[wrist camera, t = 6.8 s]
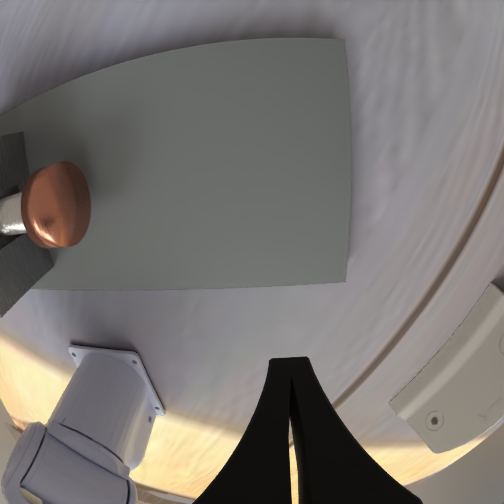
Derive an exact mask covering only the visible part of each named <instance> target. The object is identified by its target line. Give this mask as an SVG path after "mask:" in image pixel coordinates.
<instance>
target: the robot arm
mask: <svg viewBox="0 0 504 504" xmlns="http://www.w3.org/2000/svg"><path fill="white" fill-rule="evenodd" d="M68 351H69V352H70V354H71V356H72V358H73V360H74V361H75V363H76V365H77V367H78V368H77V370H76V372H75V373H74V375H73V377H72V378H71V380H70V382H69V384H68V385H67V387H66V389H65V391H64V393H63V394H62V396H61V398H60V400H59V402H58V403H57V405H56V407H55V409H54V411H53V413H52V415H51V417H50V418H49V420H48V422H47V424H45V425H43V424H42V423H41V422H39V421H38V422H34V423H30V424H29V425H28V426H27V427H26V429H25V430H24V432H23V433H22V435H21V436H20V438H19V440H18V442H17V443H16V445H15V447H14V449H13V451H12V453H11V456H10V458H9V461H8V463H7V467H6V470H5V472H4V474H3V477H2V481H1V486H2V493H3V495H4V497H5V499H6V501H7V502H8V504H137V503H138V495H137V491H136V486H135V484H134V481H133V480H132V479H131V478H130V477H128V476H129V473H130V471H131V470H133V469H135V468H136V467H137V466H138V465H139V464H140V463H141V461H142V460H143V458H144V455H145V451H146V448H147V444H148V441H149V438H150V434H151V431H152V427H153V424H154V421H155V417H156V415H159V416H163V415H165V410H164V408H163V406H162V404H161V402H160V400H159V398H158V396H157V394H156V392H155V390H154V388H153V386H152V384H151V382H150V380H149V377H148V375H147V373H146V371H145V369H144V366H143V364H142V362H141V360H140V357H139V355H138V354H137V353H136V352H133V351H121V350H111V349H101V348H93V347H85V346H77V345H69V346H68ZM289 420H290V421H291V427H292V434H293V441H294V448H295V454H296V461H297V470H298V495H299V504H423V503H422V501H421V499H420V498H418V497H417V496H416V495H414V494H412V493H411V492H410V491H409V490H407V489H406V488H405V487H403V486H402V485H401V484H399V483H398V482H397V481H396V480H395V479H394V478H392V477H391V476H390V475H389V474H388V473H387V472H386V471H385V470H384V469H383V468H382V467H381V466H380V465H379V464H378V463H377V462H376V461H375V460H374V459H373V458H372V457H371V456H370V455H369V454H368V453H367V452H366V451H365V450H364V449H363V448H362V446H361V445H360V444H359V443H358V442H357V440H356V439H355V438H354V437H353V436H352V434H351V433H350V432H349V430H348V429H347V428H346V426H345V425H344V423H343V422H342V420H341V419H340V417H339V416H338V414H337V413H336V411H335V410H334V408H333V407H332V405H331V403H330V402H329V400H328V398H327V396H326V395H325V393H324V391H323V389H322V387H321V385H320V383H319V381H318V379H317V377H316V375H315V373H314V370H313V368H312V365H311V363H310V360H309V358H308V357H290V358H272V359H271V360H269V367H268V373H267V377H266V381H265V384H264V388H263V391H262V394H261V396H260V399H259V402H258V405H257V407H256V410H255V412H254V414H253V416H252V418H251V421H250V423H249V425H248V427H247V429H246V431H245V433H244V435H243V437H242V438H241V440H240V442H239V444H238V445H237V447H236V449H235V450H234V452H233V453H232V455H231V456H230V458H229V459H228V461H227V462H226V464H225V465H224V467H223V468H222V470H221V471H220V472H219V474H218V475H217V476H216V477H215V479H214V480H213V481H212V482H211V483H210V485H209V486H208V487H207V488H206V489H205V491H204V492H203V493H202V494H201V495H200V496H199V497H198V498H197V499H196V500H195V501H194V502H193V503H192V504H292V497H291V478H290V458H289V439H288V436H289ZM503 504H504V503H503Z"/></svg>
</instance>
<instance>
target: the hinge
mask: <svg viewBox="0 0 504 504" xmlns="http://www.w3.org/2000/svg"><path fill="white" fill-rule="evenodd" d="M389 404H390V406H391V407H392V409H393V411H394V412H395V414H396V415H397V416H399V417H401V418H403V419H405V420H406V421H407V422H408V423H409V424H410V426H411V427H412V428H413V429H414V430H415V432H416V433H417V434H418V435H419V436H420V438H421V439H422V440H423V441H424V443H425V444H426V445H427V446H428V447H429V449H430V450H431V451H432V452H434V453H442V452H445V451H449V450H452V449H454V448H457V447H459V446H462V445H464V444H466V443H468V442H470V441H472V440H474V439H476V438H477V437H479V436H481V435H482V434H483V433H485V432H486V431H488V430H489V429H491V428H492V427H493V426H494V425H495V424H497V423H498V422H499V421H500V420H501V419H502V418H503V417H504V292H502V291H501V290H500V289H499V288H498V287H496V286H495V285H494V284H493V283H490V284H489V285H488V287H487V288H486V290H485V291H484V293H483V294H482V296H481V297H480V299H479V300H478V301H477V303H476V304H475V306H474V307H473V308H472V310H471V311H470V313H469V314H468V315H467V317H466V318H465V319H464V321H463V322H462V323H461V325H460V326H459V327H458V328H457V330H456V331H455V332H454V333H453V335H452V336H451V337H450V338H449V340H448V341H447V342H446V343H445V344H444V346H443V347H442V348H441V349H440V350H439V351H438V353H437V354H436V355H435V356H434V357H433V358H432V359H431V361H430V362H429V363H428V364H427V365H426V366H425V367H424V368H423V369H422V370H421V371H420V372H419V373H418V375H417V376H416V377H415V378H414V379H413V380H412V381H411V382H410V383H409V384H408V385H407V386H406V387H405V388H404V389H403V390H402V391H401V392H400V393H399V394H397V395H396V396H395V397H394V398H393V399H392V400H391V401H390V402H389Z"/></svg>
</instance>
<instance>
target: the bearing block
mask: <svg viewBox="0 0 504 504" xmlns="http://www.w3.org/2000/svg"><path fill="white" fill-rule="evenodd" d="M29 176H30V173H29V167H28V161H27V155H26V148H25V140H24V132H23V131H22V132H17V133H12V134H8V135H3V136H0V198H3V197H6V196H9V195H12V194H16V193H19V192H22V191H23V187H24V185H25V182H26V181H27V179H28V177H29ZM53 267H54V264H53V261H52V258H51V255H50V252H49V249H48V248H42V247H40V246H38V245H37V244H35V243H34V242H33V241H32V239H31V238H30V237H29V235H28V234H27V233H22V234H16V235H9V236H3V237H0V317H1V318H2V317H3V316H4V315H5V313H6V312H7V311H8V310H9V309H10V308H11V307H12V306H13V305H14V304H15V303H16V302H17V301H18V300H19V299H20V298H21V297H22V296H23V295H24V294H25V293H26V292H27V291H28V290H29V289H30V288H31V287H32V286H33V285H35V284H36V283H37V282H38V281H39V280H40V279H41V278H42V277H43V276H44V275H45V274H46V273H47V272H49V271H50V270H51V269H52V268H53Z"/></svg>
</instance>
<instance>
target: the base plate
mask: <svg viewBox="0 0 504 504" xmlns="http://www.w3.org/2000/svg"><path fill="white" fill-rule="evenodd" d="M22 131H23V132H24V140H25V148H26V155H27V161H28V167H29V173H30V175H31V174H32V173H33V172H34V171H35V170H36V169H39V168H41V167H44V166H48V165H51V164H54V163H58V162H61V161H69V162H71V163H73V164H75V165H76V166H77V167H78V168H79V169H80V170H81V171H82V173H83V175H84V177H85V179H86V181H87V184H88V187H89V191H90V198H91V217H90V222H89V226H88V229H87V232H86V234H85V236H84V237H83V239H82V240H81V241H80V242H79V243H78V244H76V245H74V246H70V247H59V248H48V249H49V252H50V255H51V258H52V261H53V264H54V267H53V268H52V269H51V270H50V271H49V272H47V273H46V274H45V275H44V276H43V277H42V278H41V279H40V280H39V281H38V282H37V283H36V284H35V285H33V286H32V287H31V288H30V289H52V290H184V289H221V288H248V287H271V286H290V285H308V284H324V283H339V282H346V273H347V261H348V247H349V231H350V209H351V120H350V99H349V84H348V71H347V60H346V50H345V41H344V40H343V39H329V38H260V39H246V40H235V41H225V42H217V43H210V44H203V45H197V46H191V47H185V48H180V49H175V50H170V51H165V52H161V53H156V54H152V55H148V56H144V57H140V58H137V59H133V60H129V61H126V62H123V63H119V64H116V65H113V66H110V67H107V68H104V69H101V70H98V71H95V72H92V73H89V74H87V75H84V76H81V77H79V78H76V79H74V80H71V81H69V82H66V83H64V84H62V85H59V86H57V87H55V88H52V89H50V90H48V91H46V92H44V93H42V94H40V95H37V96H35V97H33V98H31V99H29V100H27V101H26V102H24V103H22V104H20V105H18V106H16V107H14V108H12V109H11V110H9V111H7V112H5V113H4V114H2V115H0V136H3V135H8V134H12V133H17V132H22Z"/></svg>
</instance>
